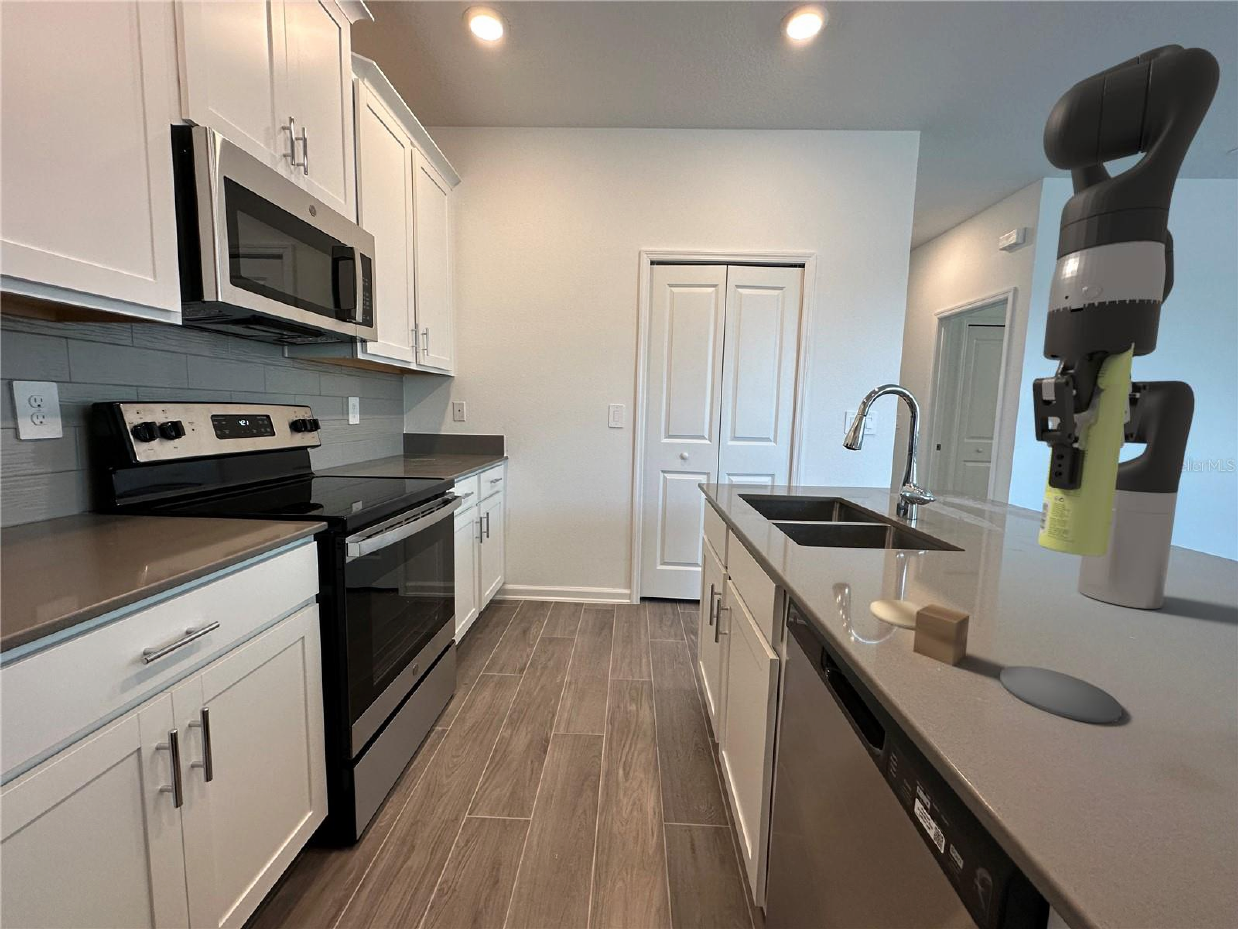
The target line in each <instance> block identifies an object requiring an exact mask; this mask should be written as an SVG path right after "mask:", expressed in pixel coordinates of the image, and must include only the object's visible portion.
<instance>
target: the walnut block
mask: <svg viewBox="0 0 1238 929" xmlns="http://www.w3.org/2000/svg"><path fill="white" fill-rule="evenodd" d="M925 606H926V607H924V608H922V609H920V610H918V611H917V613H916V625H915V630H914V641H913V653H916V654H919V655H921V656H923V657H924V656H925V657H927V658H930V659H933V660H934V661H937V662H940V663H943V664H946V665H948V666H951V667H952V666H954V665H955V664H957V663H958V662H960V661H961V660H962V659H963V658H965V657H966V656H967V646H968V645H967V644H968V634H969V623H970V614H967V613H964V612H961V611H958V610H954V609H950V608H948V607H943V606H940V605H938V604H937V605H936V604H933V603H930V604H928V605H925Z"/></svg>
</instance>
